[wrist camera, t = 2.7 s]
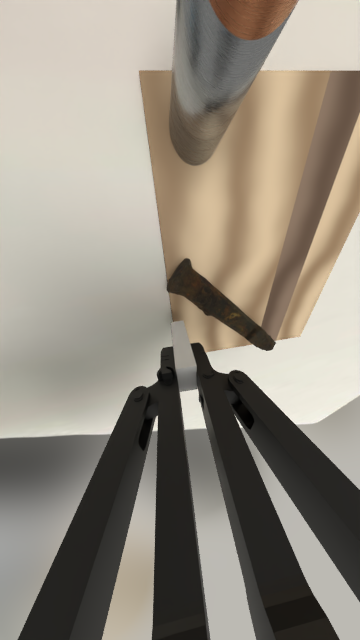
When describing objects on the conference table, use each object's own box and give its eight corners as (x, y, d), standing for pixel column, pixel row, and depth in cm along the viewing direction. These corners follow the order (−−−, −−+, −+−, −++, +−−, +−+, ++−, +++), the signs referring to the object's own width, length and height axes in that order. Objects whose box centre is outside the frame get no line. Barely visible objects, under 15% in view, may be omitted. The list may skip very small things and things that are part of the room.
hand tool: (163, 282, 16) (164, 293, 12) (183, 255, 15) (191, 258, 11) (245, 344, 24) (262, 364, 20) (263, 330, 23) (285, 348, 19)
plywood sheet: (177, 356, 23) (177, 356, 23) (139, 74, 9) (139, 70, 9) (299, 335, 25) (300, 336, 25) (422, 73, 11) (427, 70, 11)
